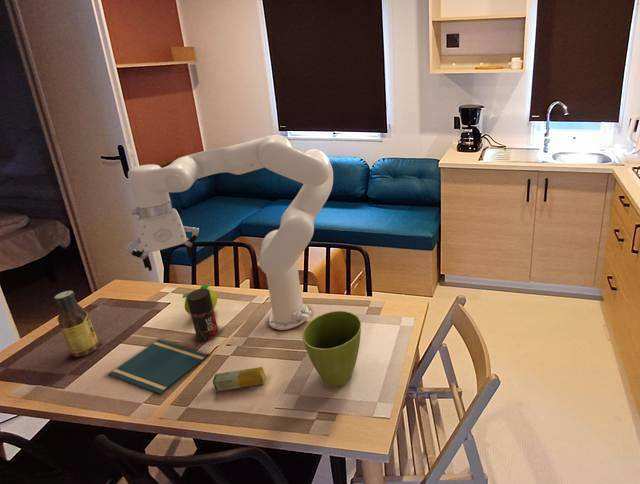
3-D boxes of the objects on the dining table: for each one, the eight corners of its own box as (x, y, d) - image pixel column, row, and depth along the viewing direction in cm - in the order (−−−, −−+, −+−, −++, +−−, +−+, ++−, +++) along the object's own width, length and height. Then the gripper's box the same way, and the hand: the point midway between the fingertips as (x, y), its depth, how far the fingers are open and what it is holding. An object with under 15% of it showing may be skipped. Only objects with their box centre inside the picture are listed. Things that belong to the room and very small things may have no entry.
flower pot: (302, 371, 109) (295, 324, 104) (352, 348, 117) (348, 303, 112) (319, 409, 97) (312, 358, 92) (374, 381, 105) (370, 332, 100)
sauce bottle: (104, 346, 118) (84, 291, 112) (78, 361, 113) (56, 303, 106) (92, 340, 121) (72, 285, 114) (67, 354, 115) (44, 297, 109)
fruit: (182, 317, 131) (175, 292, 128) (210, 302, 138) (205, 278, 135) (196, 327, 126) (190, 301, 123) (225, 311, 134) (219, 286, 131)
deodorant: (208, 342, 120) (198, 301, 115) (192, 339, 121) (181, 299, 116) (222, 329, 125) (213, 289, 120) (207, 327, 126) (197, 287, 122)
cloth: (207, 356, 114) (207, 354, 114) (160, 394, 102) (159, 392, 101) (159, 340, 120) (158, 339, 120) (109, 374, 108) (108, 373, 108)
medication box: (215, 392, 102) (211, 382, 100) (218, 383, 105) (215, 373, 103) (263, 384, 104) (260, 374, 103) (266, 375, 107) (263, 365, 105)
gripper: (115, 222, 99) (133, 279, 105) (194, 205, 110) (207, 258, 115) (115, 213, 105) (132, 268, 110) (190, 197, 115) (202, 248, 121)
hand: (170, 263), depth 113 cm, fingers open, 9 cm apart
